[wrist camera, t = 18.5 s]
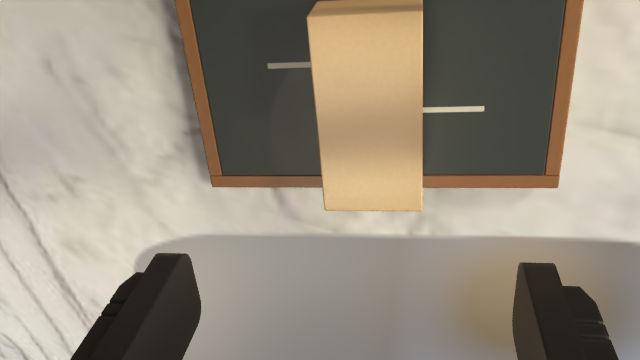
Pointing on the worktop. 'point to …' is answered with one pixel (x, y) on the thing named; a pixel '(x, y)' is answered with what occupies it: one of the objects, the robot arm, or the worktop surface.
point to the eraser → (368, 102)
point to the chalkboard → (438, 90)
